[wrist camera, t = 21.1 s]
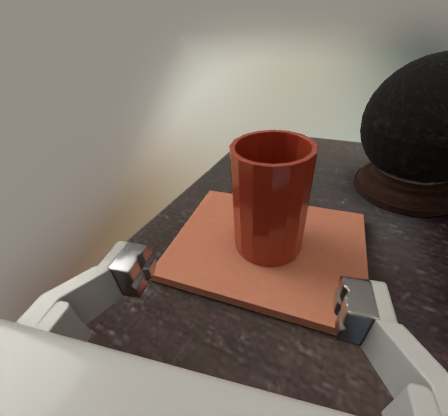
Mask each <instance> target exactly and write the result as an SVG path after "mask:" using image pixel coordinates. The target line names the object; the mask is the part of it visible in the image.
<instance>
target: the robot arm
mask: <svg viewBox="0 0 448 416" xmlns="http://www.w3.org/2000/svg"><path fill="white" fill-rule="evenodd" d="M152 252H153V251H152V248H151V246H146V245H141V244H136V243H130V242H124V241H119V242H117V243H116V245H115V246H114V247H113V248H112V249H111V250H110V252H109V253H108V254H107V256H106V257H105V258H104V259H103V260H102V261H101V263H100V264H99V265H98V266H97V267H93V268H91V269H89V270H87V271H85V272H83V273H82V274H80V275H78V276H76V277H74V278H72V279H70V280H69V281H67V282H65V283H63V284H61V285H59V286H57V287H55V288H53V289H51V290H50V291H48V292H46V293H44V294H42V295H41V296H40V297H39V298H38V299H37V300H36V301H35V302H34V303H33V304H32V305H31V306H30V308H29V309H28V310H27V311H26V312H25V313H24V314H23V315H22V316H21V317H20V318H19V319H18V320H17V322H11V321H7V320H4V319H0V416H356V415H352V414H349V413H345V412H341V411H338V410H334V409H330V408H327V407H323V406H319V405H316V404H312V403H308V402H305V401H301V400H297V399H294V398H290V397H286V396H283V395H279V394H275V393H272V392H268V391H264V390H261V389H257V388H253V387H250V386H246V385H242V384H239V383H235V382H231V381H228V380H224V379H220V378H217V377H213V376H209V375H206V374H202V373H198V372H195V371H191V370H187V369H184V368H180V367H176V366H173V365H169V364H165V363H162V362H158V361H154V360H151V359H147V358H143V357H140V356H136V355H132V354H129V353H125V352H121V351H118V350H114V349H110V348H107V347H103V346H99V345H96V344H92V343H88V340H89V339H90V337H91V332H90V330H89V329H88V328H87V326H86V325H87V324H88V323H89V322H91V321H92V320H93V319H94V318H96V317H97V316H98V315H100V314H101V313H102V312H104V311H105V310H106V309H107V308H109V307H110V306H111V305H113V304H114V303H115V302H116V301H118V300H119V299H120V298H122V297H123V295H125V296H131V297H136V298H140V297H141V295H142V294H143V292H144V290H145V289H146V287H147V282H146V281H147V280H149V279H151V278H152V276H153V275H154V273H155V269H156V260H155V258H154V257H153V256H152V255H151V253H152ZM338 285H339V287H338V288H336V289H335V293H334V299H333V308H334V313H335V314H336V316H337V318H336V321H335V332H336V340H339V341H344V342H348V343H352V344H356V345H360V346H361V348H362V350H363V352H364V353H365V355H366V356H367V358H368V359H369V361H370V362H371V364H372V366H373V367H374V369H375V370H376V372H377V373H378V375H379V376H380V378H381V380H382V381H383V383H384V384H385V386H386V387H387V389H388V390H389V392H390V394H391V395H392V397H393V398H394V400H393V401H392V402H391V403H390V404H389V405H388V406H387V407H386V408H385V409H384V410H383V411H382V412H381V413H382V416H448V372H447V371H446V370H445V369H444V368H443V367H442V366H441V365H440V364H439V363H438V362H437V361H436V359H435V358H434V357H433V356H432V355H431V354H430V353H429V352H428V351H427V350H426V349H425V348H424V347H423V346H422V345H421V344H420V342H419V341H418V340H417V339H416V338H415V337H414V336H413V335H412V334H411V333H410V332H409V331H408V330H407V329H406V328H405V327H404V325H402V324H398V322H397V318H396V315H395V311H394V308H393V304H392V301H391V298H390V294H389V291H388V287H387V285H386V283H385V282H379V281H373V280H368V279H361V278H354V277H347V276H340V278H339V280H338Z"/></svg>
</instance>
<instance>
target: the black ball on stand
mask: <svg viewBox="0 0 448 416" xmlns="http://www.w3.org/2000/svg"><path fill="white" fill-rule="evenodd" d="M360 133H361V142H362V145H363V148H364V151H365V154H366V155H367V157H368V158H369V160H370V161H371V163H368V164H367V165H365V166H364V167H363V168H361V169H360V170H359V171H358V172H357V173H356V175H355V179H354V186H355V189H356V190H357V192H358V193H359V194H360V195H361V196H362V197H363V198H365V199H366V200H368V201H369V202H371V203H373V204H374V205H376V206H378V207H381V208H383V209H386V210H388V211H392V212H395V213H399V214H403V215H409V216H417V217H435V216H442V215H445V214H448V51H443V52H439V53H434V54H430V55H426V56H424V57H422V58H419V59H417V60H415V61H412V62H410V63H408V64H407V65H405V66H403V67H402V68H400V69H399V70H397V71H396V72H394V73H393V74H392V75H391V76H390V77H388V78H387V79H386V80H385V81H384V82H383V83H382V84H381V85H380V86H379V88H378V89H377V90H376V91H375V92H374V93H373V95H372V97H371V98H370V100H369V102H368V103H367V105H366V108H365V111H364V113H363V116H362V123H361V129H360Z"/></svg>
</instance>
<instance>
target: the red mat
mask: <svg viewBox="0 0 448 416" xmlns="http://www.w3.org/2000/svg"><path fill="white" fill-rule="evenodd" d="M340 276H347V277H354V278H361V279H368V280H369V278H368V265H367V253H366V240H365V227H364V215H363V214H358V213H352V212H345V211H339V210H332V209H326V208H319V207H313V206H308V211H307V217H306V223H305V229H304V235H303V241H302V247H301V251H300V253H299V255H298V256H297V257H296V258H295V259H294V260H293V261H291V262H289V263H288V264H285V265H282V266H277V267H264V266H259V265H255V264H253V263H251V262H249V261H247V260H246V259H244V258H243V257H242V256H241V255H240V254H239V252H238V251H237V249H236V246H235V236H234V219H233V201H232V194H229V193H223V192H216V191H209V192H208V194H207V195H206V197H205V198H204V199H203V201H202V202H201V203H200V205H199V206H198V207H197V209H196V210H195V212H194V213H193V214H192V216H191V217H190V218H189V220H188V221H187V222H186V224H185V225H184V227H183V228H182V229H181V231H180V232H179V233H178V235H177V236H176V237H175V239H174V240H173V242H172V243H171V244H170V246H169V247H168V248H167V250H166V251H165V252H164V254H163V255H162V257H161V258H160V259H159V261H158V262H157V263H156V269H155V273H154V275H153V276H152V278H151V280H152V281H155V282H158V283H162V284H165V285H168V286H172V287H175V288H178V289H182V290H185V291H188V292H192V293H195V294H198V295H202V296H205V297H208V298H212V299H215V300H218V301H222V302H225V303H228V304H232V305H235V306H238V307H241V308H245V309H248V310H251V311H255V312H258V313H261V314H265V315H268V316H271V317H275V318H278V319H281V320H285V321H288V322H291V323H295V324H298V325H301V326H305V327H308V328H311V329H315V330H318V331H321V332H325V333H328V334H331V335H335V336H336V332H335V321H336V318H337V316H336V314H335V313H334V308H333V299H334V293H335V289H336V288H338V287H339V285H338V280H339V278H340Z"/></svg>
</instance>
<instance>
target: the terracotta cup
mask: <svg viewBox="0 0 448 416" xmlns="http://www.w3.org/2000/svg"><path fill="white" fill-rule="evenodd" d="M317 151H318V145H317V144H316V143H315V142H314V140H313V139H311V138H309V137H307V136H305V135H303V134H299V133H295V132H290V131H282V130H267V131H257V132H253V133H248V134H245V135H242V136H241V137H238V138H237V139H235V140H234V141H233V142H232V143H231V145H230V165H231V183H232V201H233V219H234V236H235V246H236V249H237V251H238V252H239V254H240V255H241V256H242V257H243V258H244V259H246V260H247V261H249V262H251V263H253V264H255V265H259V266H264V267H277V266H282V265H285V264H288V263H289V262H291V261H293V260H294V259H295V258H296V257H297V256H298V255H299V253H300V251H301V247H302V241H303V235H304V229H305V223H306V217H307V211H308V205H309V199H310V193H311V187H312V181H313V175H314V169H315V163H316V157H317Z"/></svg>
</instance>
